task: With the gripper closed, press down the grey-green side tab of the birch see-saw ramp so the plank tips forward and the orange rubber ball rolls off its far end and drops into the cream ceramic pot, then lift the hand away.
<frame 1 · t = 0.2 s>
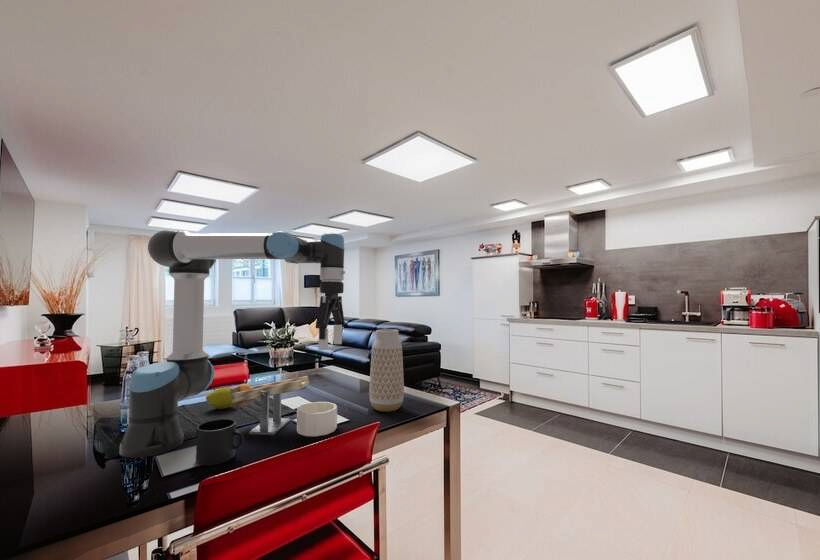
hand: (330, 346, 115), 28 cm above the table, fingers open, 13 cm apart
lever: (276, 386, 124), point 12 cm above the table, hinge at -12.1°, touching ball
mug: (220, 458, 97), on the table
ball: (245, 389, 121), point 12 cm above the table, tilted 12°, touching lever
lemon: (221, 409, 139), on the table
stand: (270, 427, 120), on the table
vase: (386, 408, 141), on the table
pot: (317, 428, 118), on the table
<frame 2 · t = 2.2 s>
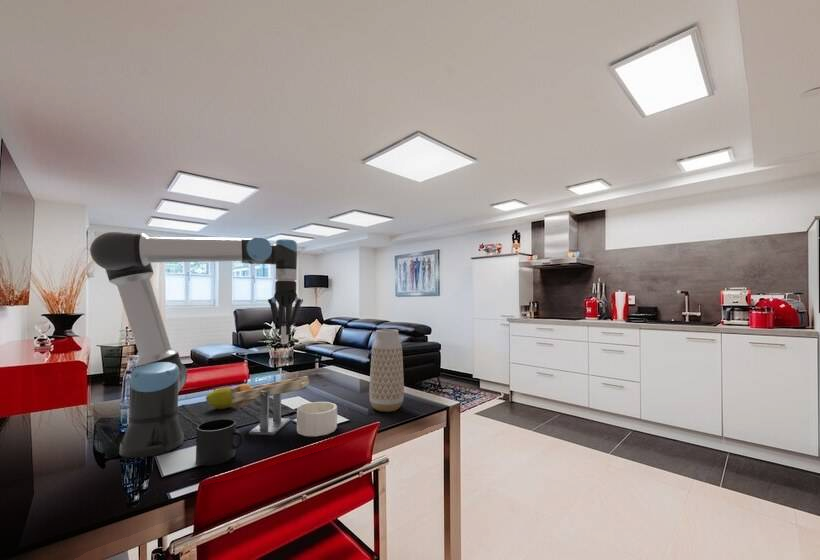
hand: (284, 343, 133), 26 cm above the table, fingers closed
nothing on the table moved.
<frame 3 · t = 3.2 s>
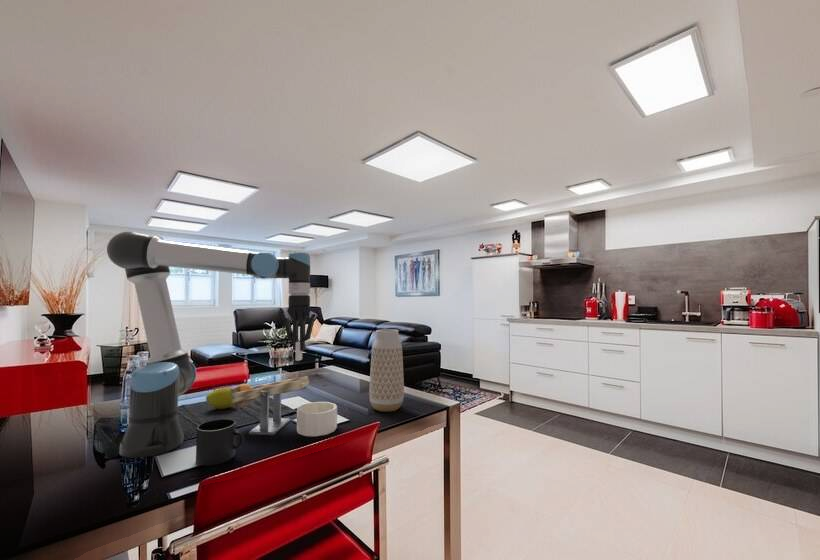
hand: (298, 359, 128), 21 cm above the table, fingers closed
nothing on the table moved.
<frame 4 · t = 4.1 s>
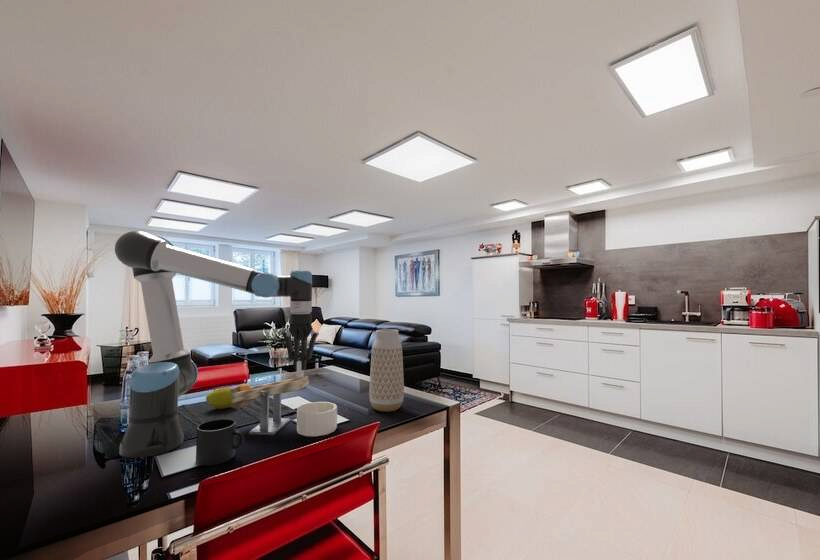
hand: (300, 379, 127), 14 cm above the table, fingers closed
lever: (276, 386, 124), point 12 cm above the table, hinge at -12.0°, touching ball, gripper
everything else where it was.
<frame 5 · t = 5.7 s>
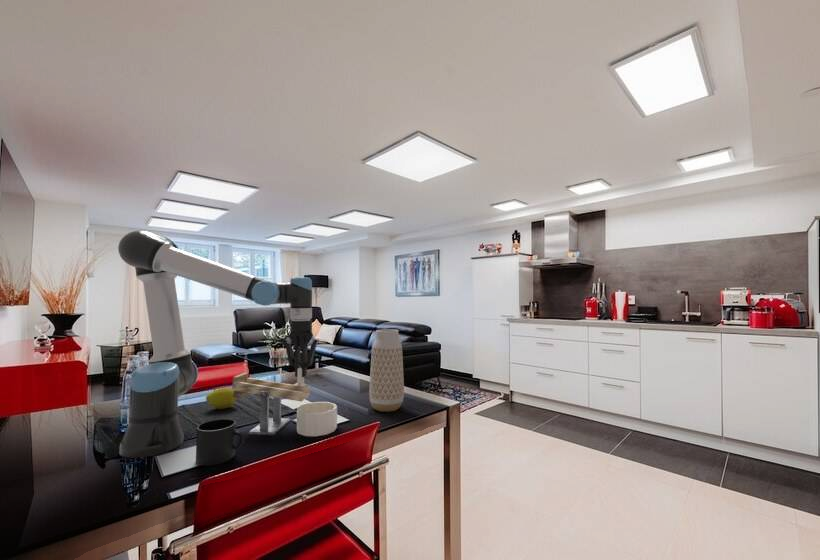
hand: (300, 385, 127), 12 cm above the table, fingers closed
lever: (276, 386, 124), point 12 cm above the table, hinge at 7.4°, touching gripper
ball: (306, 420, 119), point 3 cm above the table, tilted 56°, touching pot
everything else where it was.
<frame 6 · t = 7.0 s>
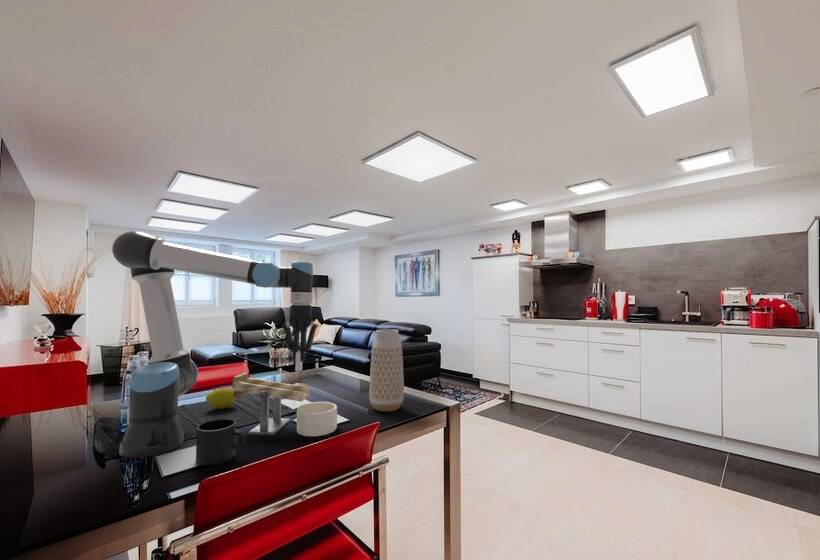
hand: (298, 370, 127), 18 cm above the table, fingers closed
lever: (276, 386, 124), point 12 cm above the table, hinge at 7.4°
ball: (311, 420, 119), point 3 cm above the table, touching pot
everything else where it was.
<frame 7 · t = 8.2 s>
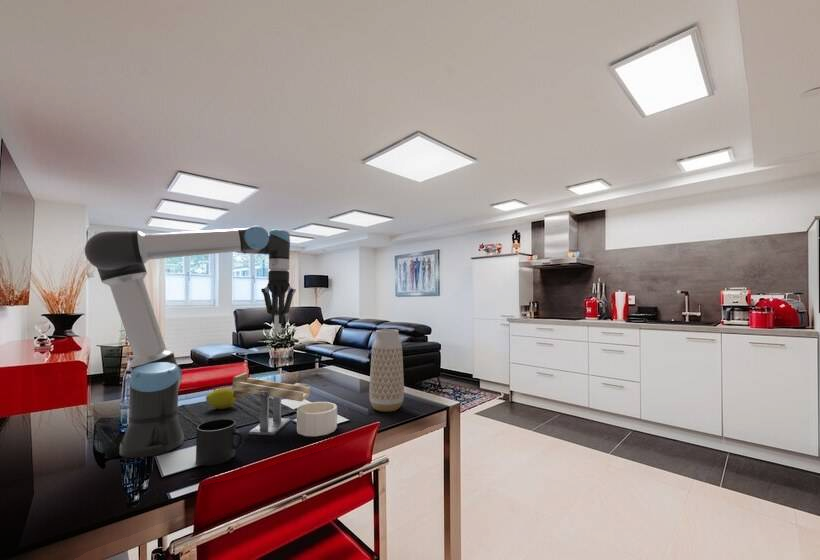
hand: (277, 332, 135), 30 cm above the table, fingers closed
ball: (316, 420, 119), point 3 cm above the table, tilted 56°, touching pot
everything else where it was.
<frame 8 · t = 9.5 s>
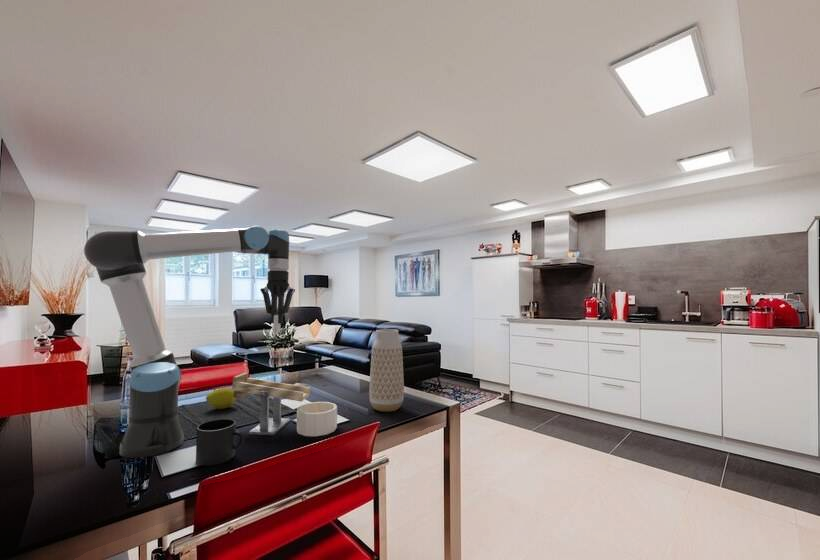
hand: (276, 332, 135), 30 cm above the table, fingers closed
ball: (321, 420, 118), point 3 cm above the table, tilted 114°, touching pot
everything else where it was.
at the end: ball inside the target area on the pot (1.7 cm from its centre), point 2.7 cm above the pot's base; ball touching pot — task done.
